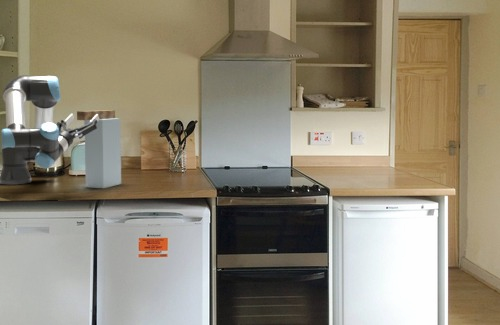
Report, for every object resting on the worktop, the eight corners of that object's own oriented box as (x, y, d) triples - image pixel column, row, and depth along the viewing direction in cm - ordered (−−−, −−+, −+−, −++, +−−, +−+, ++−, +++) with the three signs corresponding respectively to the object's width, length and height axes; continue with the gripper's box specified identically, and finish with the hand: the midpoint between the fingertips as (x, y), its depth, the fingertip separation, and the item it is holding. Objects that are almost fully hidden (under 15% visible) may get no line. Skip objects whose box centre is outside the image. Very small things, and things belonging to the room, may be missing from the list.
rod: (84, 120, 267) (84, 111, 267) (77, 120, 268) (76, 111, 268) (115, 118, 292) (114, 110, 291) (108, 118, 293) (107, 110, 292)
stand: (103, 188, 279) (102, 119, 276) (85, 187, 282) (84, 119, 279) (121, 183, 294) (120, 118, 291) (104, 182, 298) (102, 118, 294)
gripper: (40, 147, 260) (65, 122, 276) (88, 150, 252) (111, 123, 268) (34, 133, 256) (60, 108, 272) (82, 135, 248) (106, 110, 264)
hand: (85, 116), depth 270 cm, fingers open, 13 cm apart
